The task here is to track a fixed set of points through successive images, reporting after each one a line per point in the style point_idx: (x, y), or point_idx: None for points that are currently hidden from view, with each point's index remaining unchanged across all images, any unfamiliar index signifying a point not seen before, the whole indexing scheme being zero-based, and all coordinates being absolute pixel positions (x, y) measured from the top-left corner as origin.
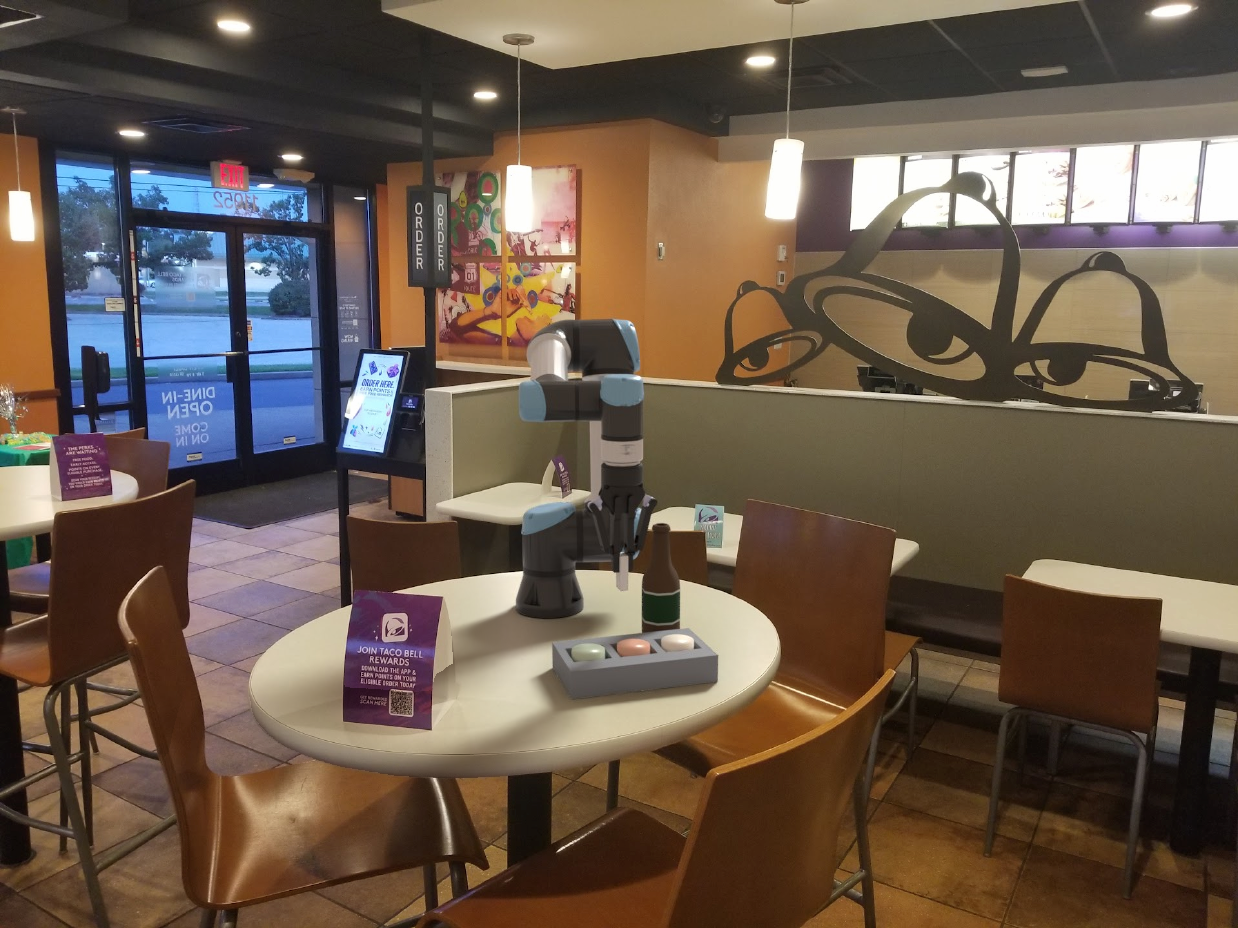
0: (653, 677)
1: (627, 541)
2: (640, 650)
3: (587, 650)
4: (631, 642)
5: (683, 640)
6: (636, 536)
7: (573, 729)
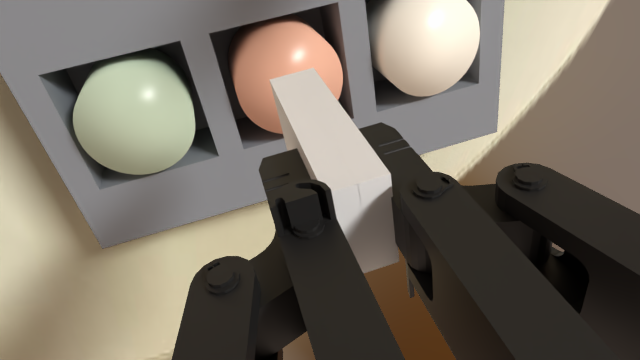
0: None
1: (448, 344)
2: None
3: (135, 135)
4: (286, 64)
5: (447, 54)
6: (575, 253)
7: (139, 319)
